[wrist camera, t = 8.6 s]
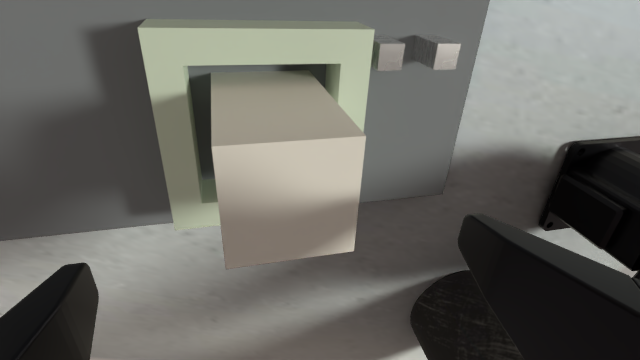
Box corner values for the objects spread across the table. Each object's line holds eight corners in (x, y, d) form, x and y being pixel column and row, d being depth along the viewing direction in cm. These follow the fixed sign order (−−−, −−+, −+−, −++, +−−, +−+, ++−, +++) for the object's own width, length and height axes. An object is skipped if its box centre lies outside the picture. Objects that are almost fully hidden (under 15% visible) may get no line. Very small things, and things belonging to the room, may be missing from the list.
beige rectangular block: (308, 70, 16) (366, 135, 10) (306, 155, 18) (353, 251, 12) (210, 72, 15) (211, 146, 9) (220, 162, 17) (225, 269, 11)
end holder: (356, 21, 15) (374, 29, 14) (342, 188, 19) (354, 210, 18) (146, 18, 14) (137, 27, 12) (178, 204, 18) (174, 230, 16)
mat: (524, -218, 14) (545, -229, 13) (433, 185, 22) (442, 194, 21) (-294, -373, 9) (-347, -408, 8) (-5, 228, 17) (-16, 242, 16)
